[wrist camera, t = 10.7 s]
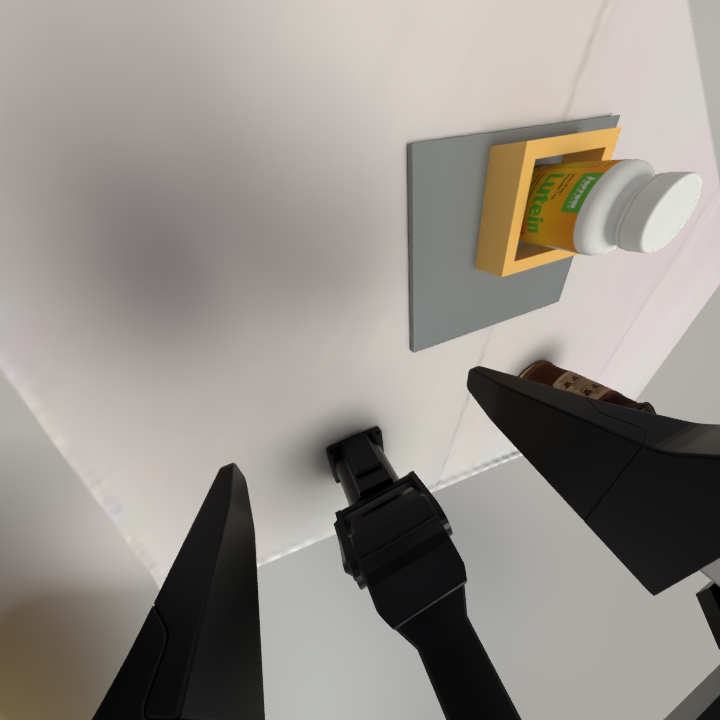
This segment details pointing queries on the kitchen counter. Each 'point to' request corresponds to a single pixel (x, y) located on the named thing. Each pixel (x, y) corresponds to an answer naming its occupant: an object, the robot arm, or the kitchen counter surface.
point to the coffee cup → (579, 385)
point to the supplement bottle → (607, 206)
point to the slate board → (469, 238)
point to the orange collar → (510, 195)
